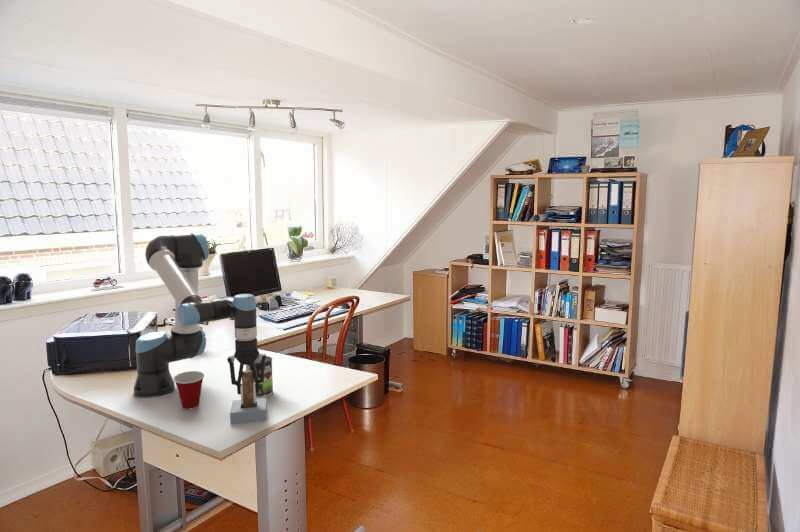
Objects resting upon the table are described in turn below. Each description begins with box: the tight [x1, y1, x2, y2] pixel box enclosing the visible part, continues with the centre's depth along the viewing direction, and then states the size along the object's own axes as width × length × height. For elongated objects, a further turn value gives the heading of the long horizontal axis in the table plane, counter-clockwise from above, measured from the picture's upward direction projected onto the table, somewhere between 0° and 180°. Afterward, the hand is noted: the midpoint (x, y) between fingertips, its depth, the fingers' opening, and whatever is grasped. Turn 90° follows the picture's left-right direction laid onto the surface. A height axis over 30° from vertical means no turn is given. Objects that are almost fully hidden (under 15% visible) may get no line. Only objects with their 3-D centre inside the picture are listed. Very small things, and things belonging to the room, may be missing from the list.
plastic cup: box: [172, 370, 205, 410], centre depth 199 cm, size 11×11×12 cm
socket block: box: [229, 397, 268, 425], centre depth 191 cm, size 12×12×4 cm
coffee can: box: [245, 355, 274, 398], centre depth 212 cm, size 10×10×14 cm
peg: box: [241, 369, 255, 408], centre depth 190 cm, size 4×4×15 cm
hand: (248, 401), depth 190 cm, fingers closed on peg, 4 cm apart
